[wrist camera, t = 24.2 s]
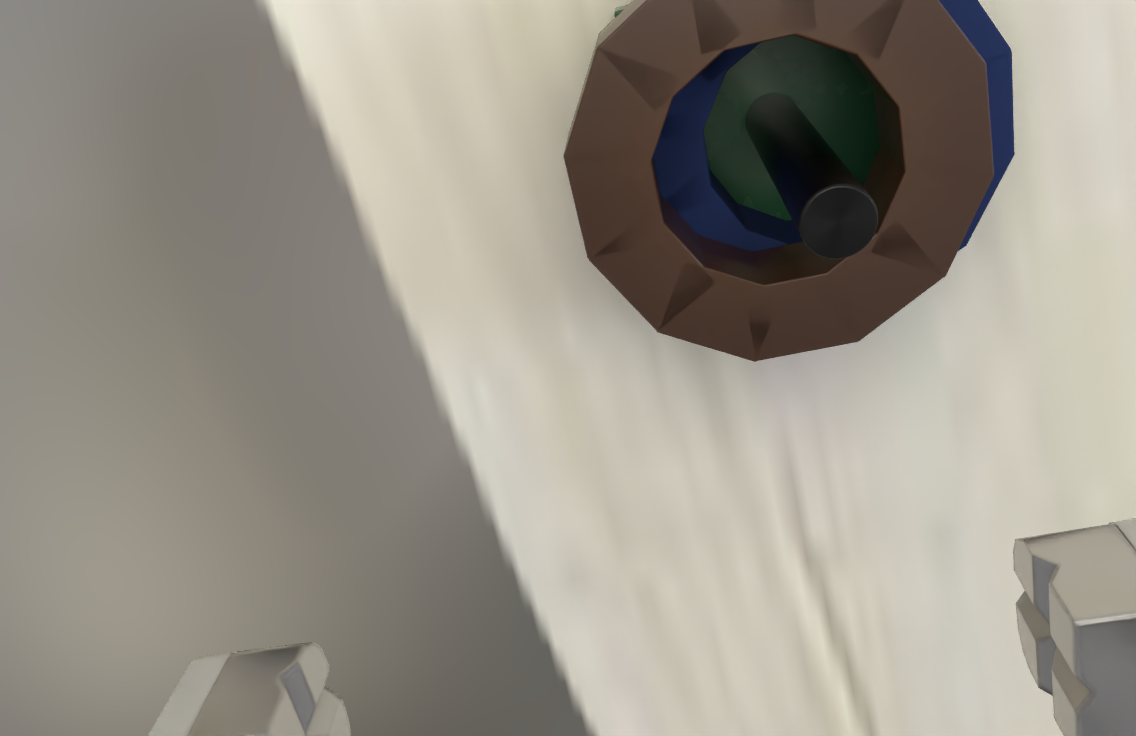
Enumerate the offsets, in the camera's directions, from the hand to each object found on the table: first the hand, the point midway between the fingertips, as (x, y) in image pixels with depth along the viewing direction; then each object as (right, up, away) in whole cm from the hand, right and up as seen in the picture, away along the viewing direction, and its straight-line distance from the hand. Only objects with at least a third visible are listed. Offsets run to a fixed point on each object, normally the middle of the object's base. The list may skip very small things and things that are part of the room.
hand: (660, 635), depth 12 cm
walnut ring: (+5, +10, +20) cm, 23 cm away
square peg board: (+6, +12, +24) cm, 27 cm away
